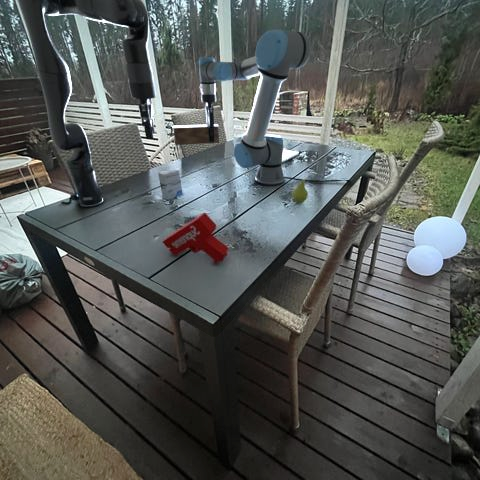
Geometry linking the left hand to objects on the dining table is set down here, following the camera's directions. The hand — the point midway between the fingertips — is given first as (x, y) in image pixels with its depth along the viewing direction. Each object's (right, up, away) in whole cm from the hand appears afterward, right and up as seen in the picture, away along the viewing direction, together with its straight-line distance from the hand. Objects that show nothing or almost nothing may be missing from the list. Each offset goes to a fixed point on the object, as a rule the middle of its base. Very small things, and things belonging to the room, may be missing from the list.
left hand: (150, 136), depth 92 cm
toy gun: (+16, -40, -4) cm, 44 cm away
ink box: (-2, -15, +36) cm, 39 cm away
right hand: (+14, +20, +59) cm, 64 cm away
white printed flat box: (+48, +23, +94) cm, 108 cm away
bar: (+6, +19, +58) cm, 61 cm away
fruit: (+57, -18, +30) cm, 67 cm away
